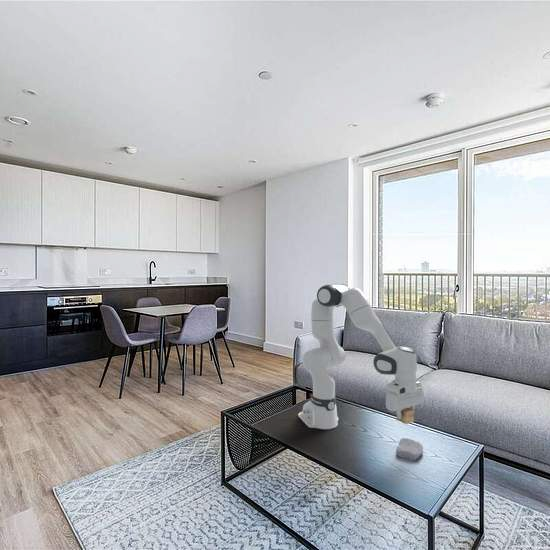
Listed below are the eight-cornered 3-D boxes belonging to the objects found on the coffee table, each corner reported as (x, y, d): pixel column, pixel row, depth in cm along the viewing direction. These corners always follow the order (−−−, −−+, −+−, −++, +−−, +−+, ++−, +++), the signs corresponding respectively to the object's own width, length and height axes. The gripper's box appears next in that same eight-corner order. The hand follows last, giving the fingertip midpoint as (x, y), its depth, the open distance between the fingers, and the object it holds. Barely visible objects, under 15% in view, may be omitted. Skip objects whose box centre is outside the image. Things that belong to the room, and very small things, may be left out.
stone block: (422, 453, 153) (399, 443, 157) (425, 444, 152) (401, 434, 157) (418, 468, 142) (394, 456, 147) (421, 458, 142) (396, 446, 146)
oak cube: (396, 419, 151) (396, 408, 151) (404, 417, 154) (404, 406, 154) (406, 424, 147) (406, 412, 147) (413, 421, 149) (414, 410, 149)
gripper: (415, 379, 158) (414, 409, 158) (383, 386, 148) (382, 418, 148) (427, 383, 152) (427, 414, 153) (395, 391, 142) (394, 424, 143)
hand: (405, 416), depth 150 cm, fingers closed on oak cube, 5 cm apart
